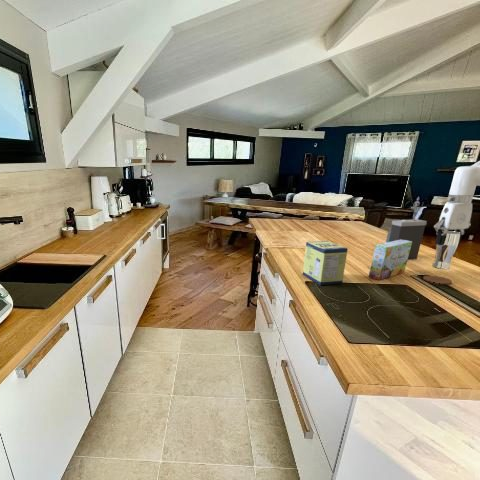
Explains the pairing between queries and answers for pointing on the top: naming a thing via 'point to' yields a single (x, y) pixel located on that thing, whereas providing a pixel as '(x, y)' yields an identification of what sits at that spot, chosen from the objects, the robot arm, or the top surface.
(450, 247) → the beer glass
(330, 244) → the protein box
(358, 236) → the top surface
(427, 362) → the top surface
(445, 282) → the coaster
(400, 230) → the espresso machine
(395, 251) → the snack box
